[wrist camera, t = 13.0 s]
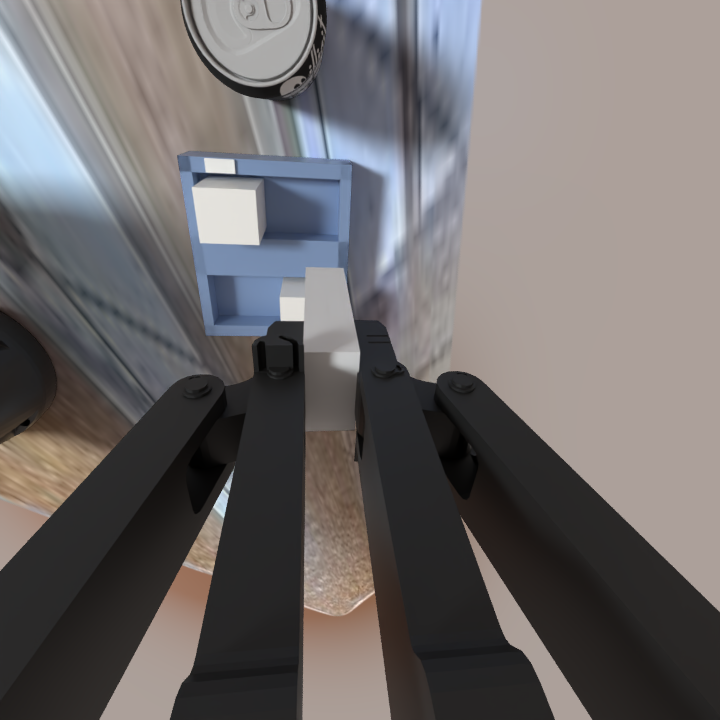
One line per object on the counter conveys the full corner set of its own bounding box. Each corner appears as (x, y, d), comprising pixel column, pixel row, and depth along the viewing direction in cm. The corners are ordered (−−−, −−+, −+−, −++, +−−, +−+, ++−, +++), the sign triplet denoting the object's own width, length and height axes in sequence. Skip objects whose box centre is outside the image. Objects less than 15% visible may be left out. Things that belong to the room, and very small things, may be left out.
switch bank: (213, 319, 38) (205, 336, 35) (189, 150, 30) (176, 155, 27) (342, 320, 39) (344, 337, 36) (349, 159, 32) (352, 165, 29)
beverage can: (210, -15, 26) (142, -93, 16) (313, -30, 26) (312, -117, 16) (240, 106, 29) (200, 107, 19) (330, 93, 29) (338, 87, 19)
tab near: (215, 225, 32) (200, 243, 28) (209, 175, 30) (191, 187, 26) (266, 226, 33) (259, 245, 28) (263, 178, 31) (255, 190, 26)
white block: (285, 312, 37) (281, 339, 32) (283, 273, 35) (279, 297, 30) (329, 312, 37) (331, 339, 33) (330, 275, 35) (332, 298, 31)
